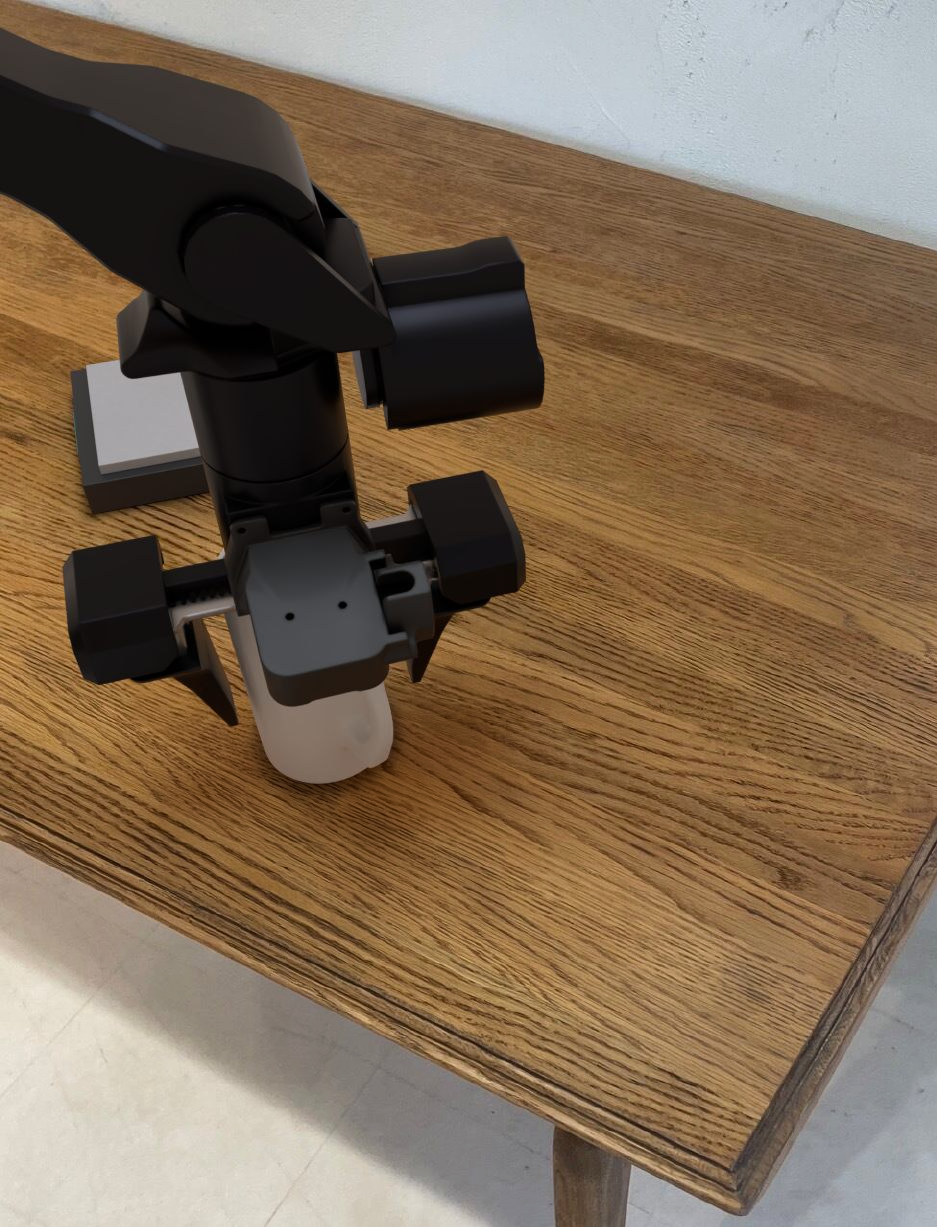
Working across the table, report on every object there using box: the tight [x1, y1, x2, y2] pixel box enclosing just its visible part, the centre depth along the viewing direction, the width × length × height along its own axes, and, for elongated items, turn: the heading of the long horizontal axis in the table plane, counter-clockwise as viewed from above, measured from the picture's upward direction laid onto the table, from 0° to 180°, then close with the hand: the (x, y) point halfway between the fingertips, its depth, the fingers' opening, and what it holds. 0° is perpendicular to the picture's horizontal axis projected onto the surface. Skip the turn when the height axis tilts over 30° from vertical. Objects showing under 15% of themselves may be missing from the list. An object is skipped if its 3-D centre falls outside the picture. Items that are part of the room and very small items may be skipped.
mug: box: [216, 548, 394, 785], centre depth 61 cm, size 10×7×12 cm, turn 40°
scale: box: [69, 359, 210, 515], centre depth 81 cm, size 12×12×3 cm
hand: (325, 697), depth 62 cm, fingers closed on mug, 8 cm apart
